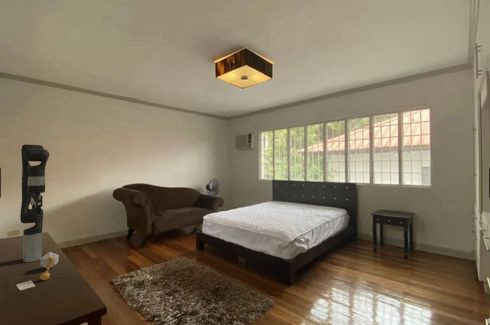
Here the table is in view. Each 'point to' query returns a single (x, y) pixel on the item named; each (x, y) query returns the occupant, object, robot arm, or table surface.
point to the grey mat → (25, 285)
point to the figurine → (46, 275)
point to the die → (45, 259)
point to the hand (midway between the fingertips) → (36, 213)
